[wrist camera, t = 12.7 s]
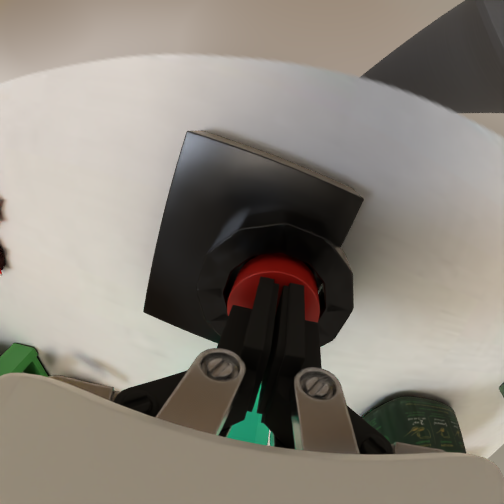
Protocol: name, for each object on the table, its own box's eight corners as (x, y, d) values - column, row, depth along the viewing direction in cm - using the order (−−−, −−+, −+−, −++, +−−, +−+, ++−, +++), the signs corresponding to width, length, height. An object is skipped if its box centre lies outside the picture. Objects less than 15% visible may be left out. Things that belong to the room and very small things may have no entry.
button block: (201, 130, 14) (170, 131, 10) (376, 199, 14) (402, 223, 10) (157, 292, 18) (128, 331, 14) (297, 346, 18) (295, 394, 14)
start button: (251, 239, 12) (244, 256, 11) (331, 270, 12) (336, 292, 11) (225, 307, 14) (216, 330, 12) (296, 333, 14) (296, 358, 12)
